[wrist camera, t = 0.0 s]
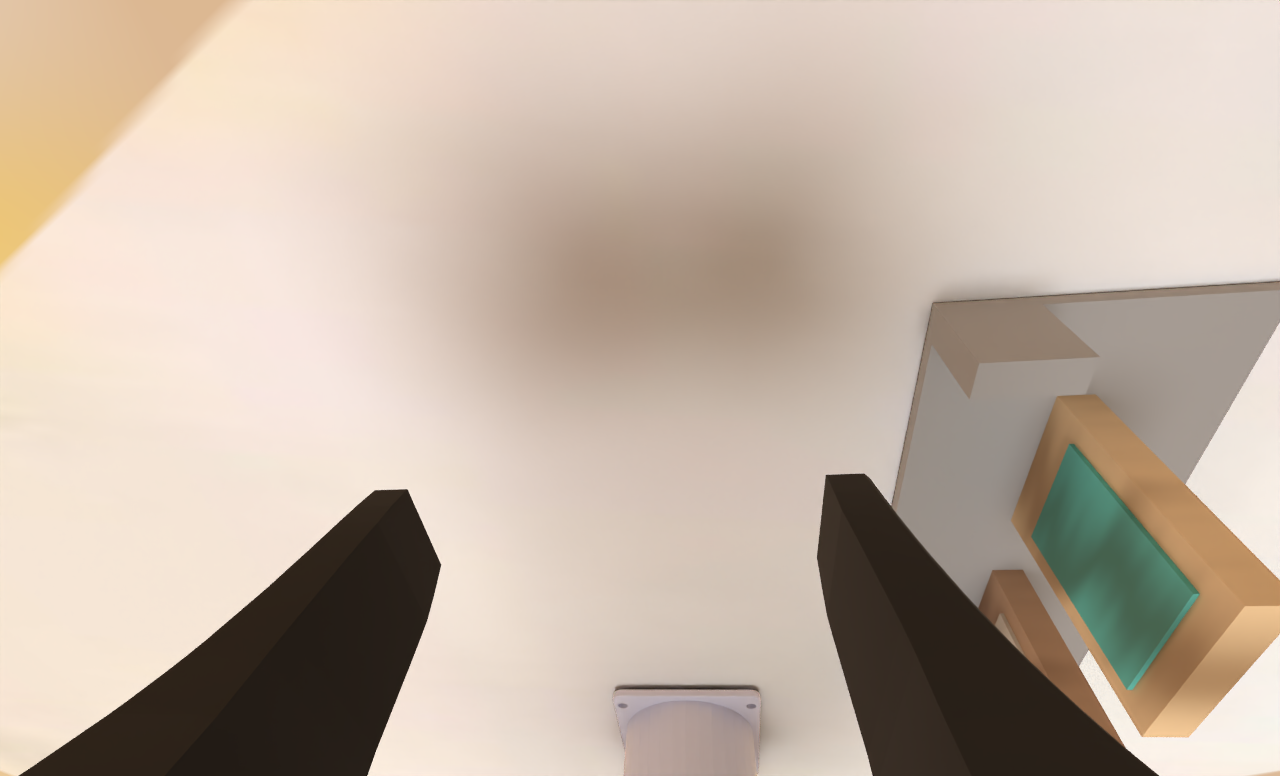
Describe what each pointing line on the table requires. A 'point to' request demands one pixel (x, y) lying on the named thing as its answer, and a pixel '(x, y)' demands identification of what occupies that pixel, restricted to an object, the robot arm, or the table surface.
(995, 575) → the walnut tile
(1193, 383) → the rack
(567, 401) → the table surface
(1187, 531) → the oak tile
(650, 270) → the table surface
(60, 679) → the table surface
